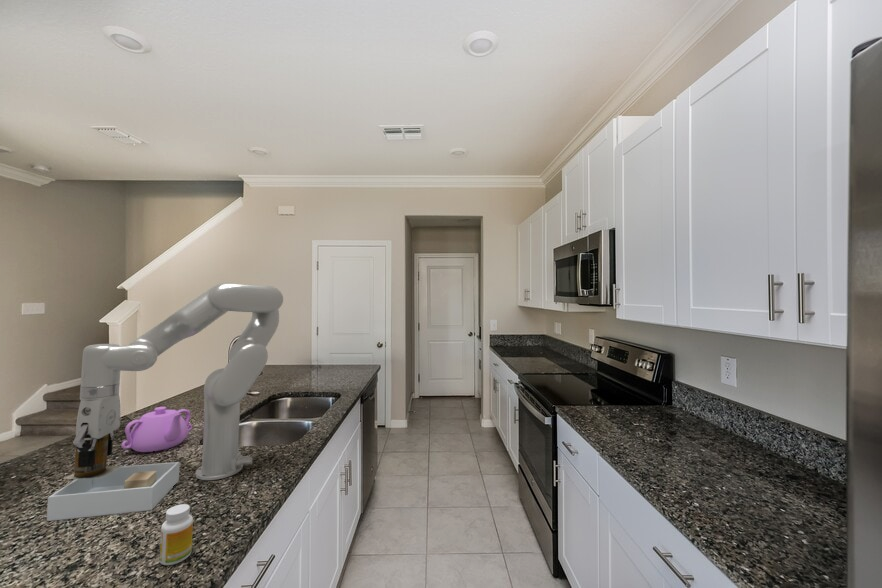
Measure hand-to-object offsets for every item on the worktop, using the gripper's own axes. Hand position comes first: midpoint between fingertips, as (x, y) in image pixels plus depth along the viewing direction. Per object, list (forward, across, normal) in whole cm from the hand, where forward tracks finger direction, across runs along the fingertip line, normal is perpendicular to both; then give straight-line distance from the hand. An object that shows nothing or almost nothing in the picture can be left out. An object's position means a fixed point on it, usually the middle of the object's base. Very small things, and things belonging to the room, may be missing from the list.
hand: (95, 460), depth 94 cm
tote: (+11, 0, -6) cm, 12 cm away
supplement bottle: (+11, -28, -30) cm, 42 cm away
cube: (+10, 0, -10) cm, 14 cm away
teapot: (+11, +37, 0) cm, 39 cm away
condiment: (+3, 0, 0) cm, 3 cm away
